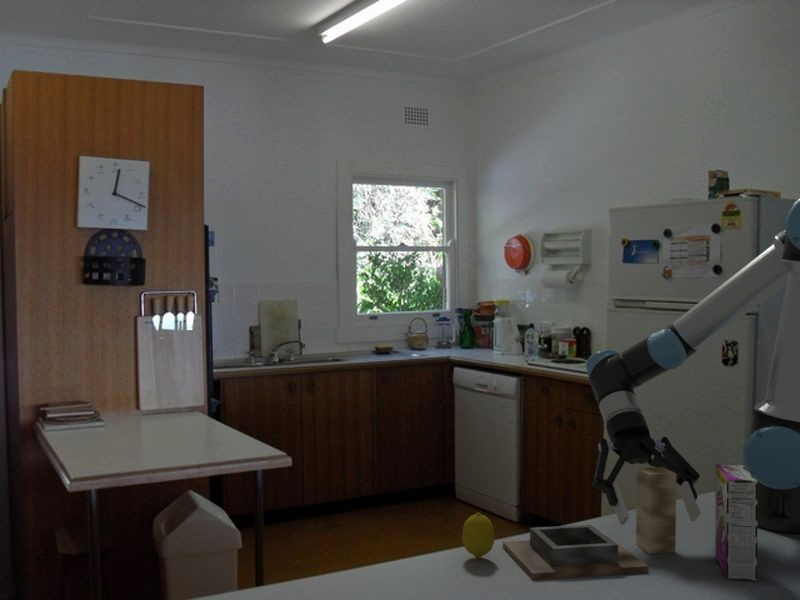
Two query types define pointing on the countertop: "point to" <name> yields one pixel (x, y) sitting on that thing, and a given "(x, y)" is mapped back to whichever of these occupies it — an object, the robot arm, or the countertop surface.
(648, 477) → the maple post
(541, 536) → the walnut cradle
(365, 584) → the countertop surface
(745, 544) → the candy bar box
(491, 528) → the lemon
